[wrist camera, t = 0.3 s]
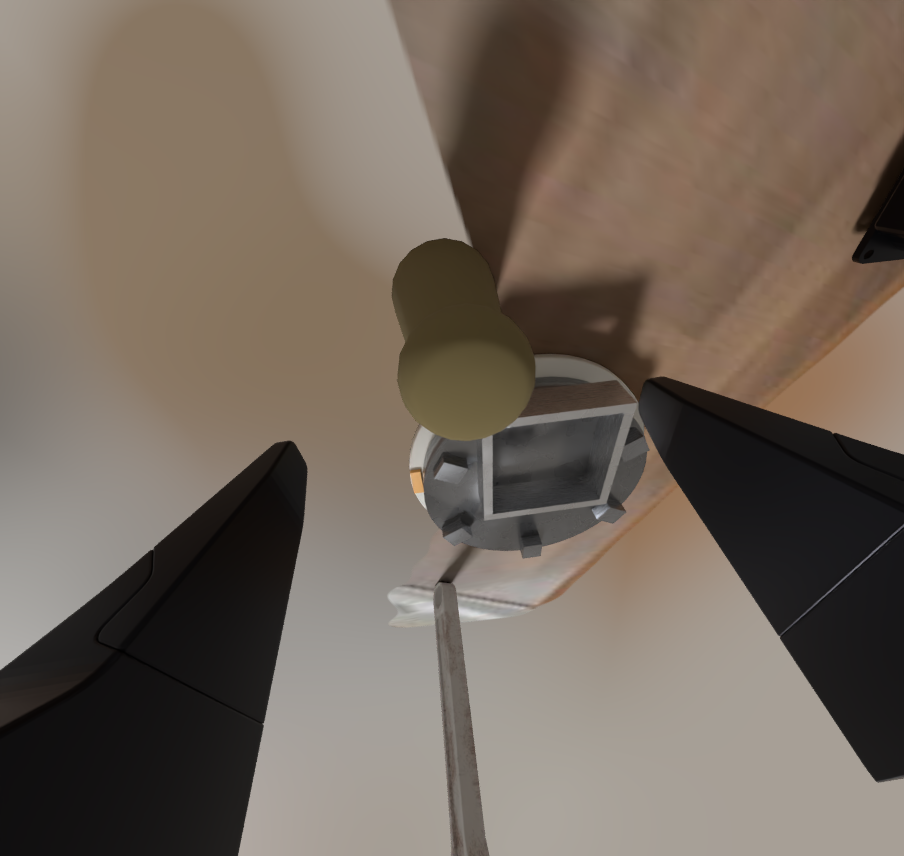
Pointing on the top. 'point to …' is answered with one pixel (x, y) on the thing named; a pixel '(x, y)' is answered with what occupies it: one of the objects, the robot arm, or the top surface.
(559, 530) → the grey tabbed disc
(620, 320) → the top surface
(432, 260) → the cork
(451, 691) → the wrench
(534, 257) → the top surface
